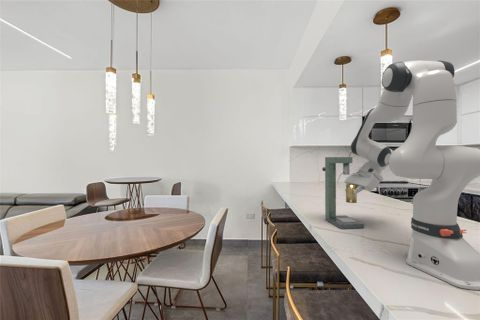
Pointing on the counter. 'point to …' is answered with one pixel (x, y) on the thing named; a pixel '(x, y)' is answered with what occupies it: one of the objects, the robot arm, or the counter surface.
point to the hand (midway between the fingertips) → (350, 192)
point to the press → (330, 193)
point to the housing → (349, 195)
